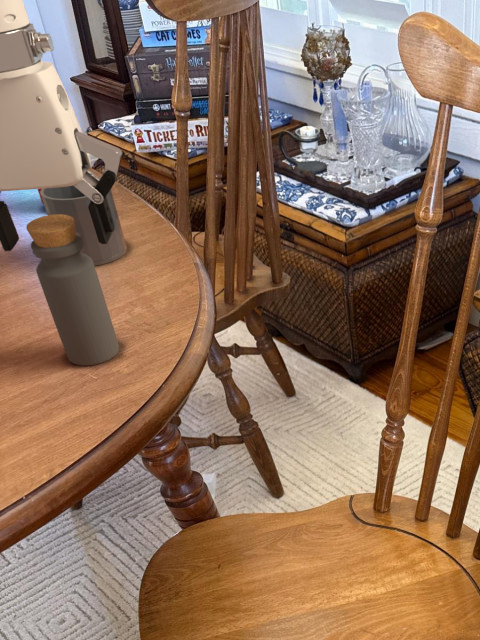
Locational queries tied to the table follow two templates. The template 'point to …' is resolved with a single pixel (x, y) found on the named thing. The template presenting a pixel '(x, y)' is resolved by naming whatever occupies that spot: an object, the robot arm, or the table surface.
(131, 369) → the table surface
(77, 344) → the bottle
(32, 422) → the table surface
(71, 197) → the grey open cup
